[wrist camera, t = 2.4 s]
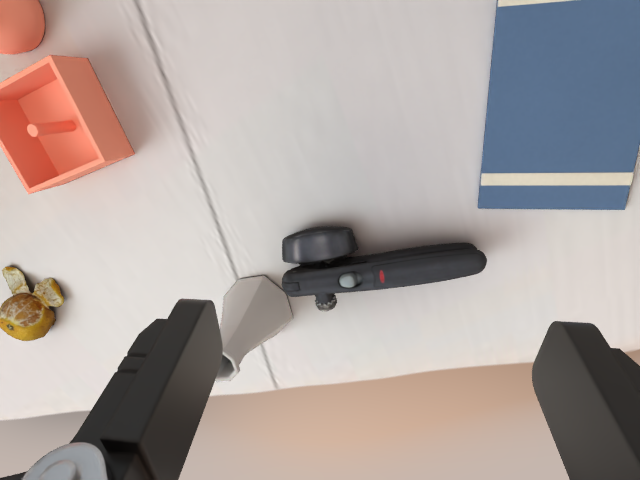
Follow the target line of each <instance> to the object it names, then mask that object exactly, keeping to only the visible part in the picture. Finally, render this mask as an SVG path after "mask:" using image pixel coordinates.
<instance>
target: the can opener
mask: <svg viewBox="0 0 640 480" xmlns="http://www.w3.org/2000/svg"><path fill="white" fill-rule="evenodd" d="M282 243H283V244H282V257H283V261H284V262H288V263H298V264H300V266H298V267H295V268H293V269H291V270H288V271H287V272H286V273H285V274H284V276H283V278H282V287H283V289H284V291H285V293H286V294H287V295H289V296H291V297H299V296H310V295H315V296H316V300H315V302H316V306H317V308H318V309H319V310H320V311H329V310H331V309H333V308H334V307H335V305H336V303H337V300H336V296H335V295H334V294H335V293H342V292H356V291H367V290H379V289H388V288H397V287H405V286H412V285H420V284H426V283H433V282H440V281H446V280H451V279H456V278H460V277H466V276H470V275H474V274H477V273H480V272H481V271H482V270H483V269H484V268H485V266H486V263H487V259H486V256H485V255H484V253H483V252H482V251H480V250H477V248H476V247H475V246H474V245H472V244H470V243H452V244H441V245H430V246H422V247H414V248H408V249H402V250H396V251H390V252H384V253H378V254H372V255H365V256H357V257H347V258H346V256H347V255H348V254H351V253H354V252H355V251H357V250H358V246H357V243H356V240H355V237H354V235H353V232H352V229H350V228H347V227H333V226H329V227H327V226H326V227H316V228H310V229H306V230H303V231H299V232H297V233H294V234H292V235H289V236H287V237H285V238H284V239H283V241H282Z"/></svg>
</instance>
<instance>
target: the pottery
mask: <svg viewBox="0 0 640 480" xmlns="http://www.w3.org/2000/svg"><path fill="white" fill-rule="evenodd" d="M44 30H45V19H44V13H43V10H42V7H41V4H40V2H39V0H0V53H2V54H18V53H22V52H27V51H31V50H33V49H35V48H36V47H37V46H38V45H39V44H40V42H41V40H42V38H43V35H44ZM0 146H1V148H2V150H3V151H4V153H5V155H6V156H7V158H8V160H9V162H10V163H11V165H12V167H13V168H14V170H15V172H16V174H17V175H18V177H19V179H20V180H21V182H22V184H23V185H24V187H25V189H26V191H27V192H28V194H31V193H34V192H38V191H41V190H45V189H48V188H52V187H55V186H59V185H62V184H65V183H67V182H70V181H72V180H75V179H77V178H79V177H82V176H84V175H86V174H89V173H91V172H94V171H96V170H98V169H101V168H103V167H105V166H108V165H110V164H112V163H115V162H117V161H120V160H122V159H124V158H127V157H129V156H131V155H134V154H135V153H134V151H133V149H132V147H131V145H130V143H129V141H128V139H127V137H126V135H125V133H124V131H123V129H122V127H121V125H120V123H119V121H118V119H117V117H116V115H115V113H114V111H113V109H112V107H111V105H110V103H109V101H108V99H107V97H106V95H105V93H104V91H103V89H102V87H101V85H100V83H99V80H98V78H97V76H96V74H95V72H94V70H93V68H92V66H91V64H90V62H89V60H88V58H77V57H66V56H55V55H49V56H47V57H46V58H44V59H42V60H40V61H39V62H37V63H35V64H33V65H31V66H30V67H28V68H26V69H24V70H22V71H21V72H19V73H17V74H15V75H14V76H12V77H10V78H8V79H6V80H5V81H3V82H1V83H0Z"/></svg>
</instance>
